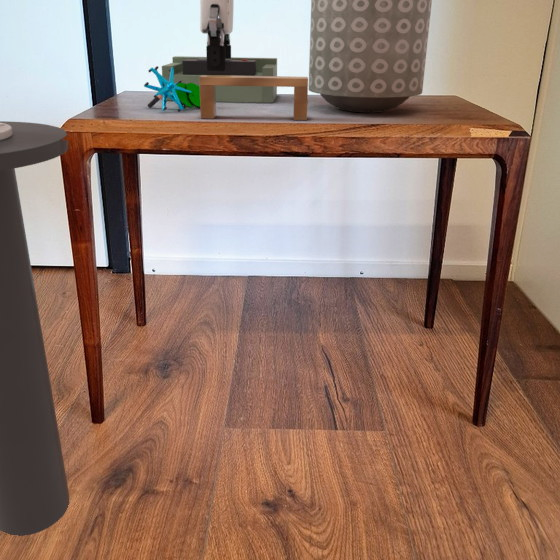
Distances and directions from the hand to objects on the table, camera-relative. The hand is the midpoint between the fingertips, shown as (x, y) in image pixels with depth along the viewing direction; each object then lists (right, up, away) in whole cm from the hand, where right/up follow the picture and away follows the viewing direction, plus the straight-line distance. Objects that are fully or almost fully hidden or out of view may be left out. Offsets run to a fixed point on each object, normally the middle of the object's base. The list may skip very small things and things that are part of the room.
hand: (219, 68), depth 109 cm
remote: (0, -1, +1) cm, 1 cm away
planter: (+25, -9, -7) cm, 28 cm away
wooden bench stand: (+7, -14, -17) cm, 23 cm away
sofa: (0, -4, +5) cm, 6 cm away
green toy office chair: (-7, -10, -9) cm, 15 cm away
